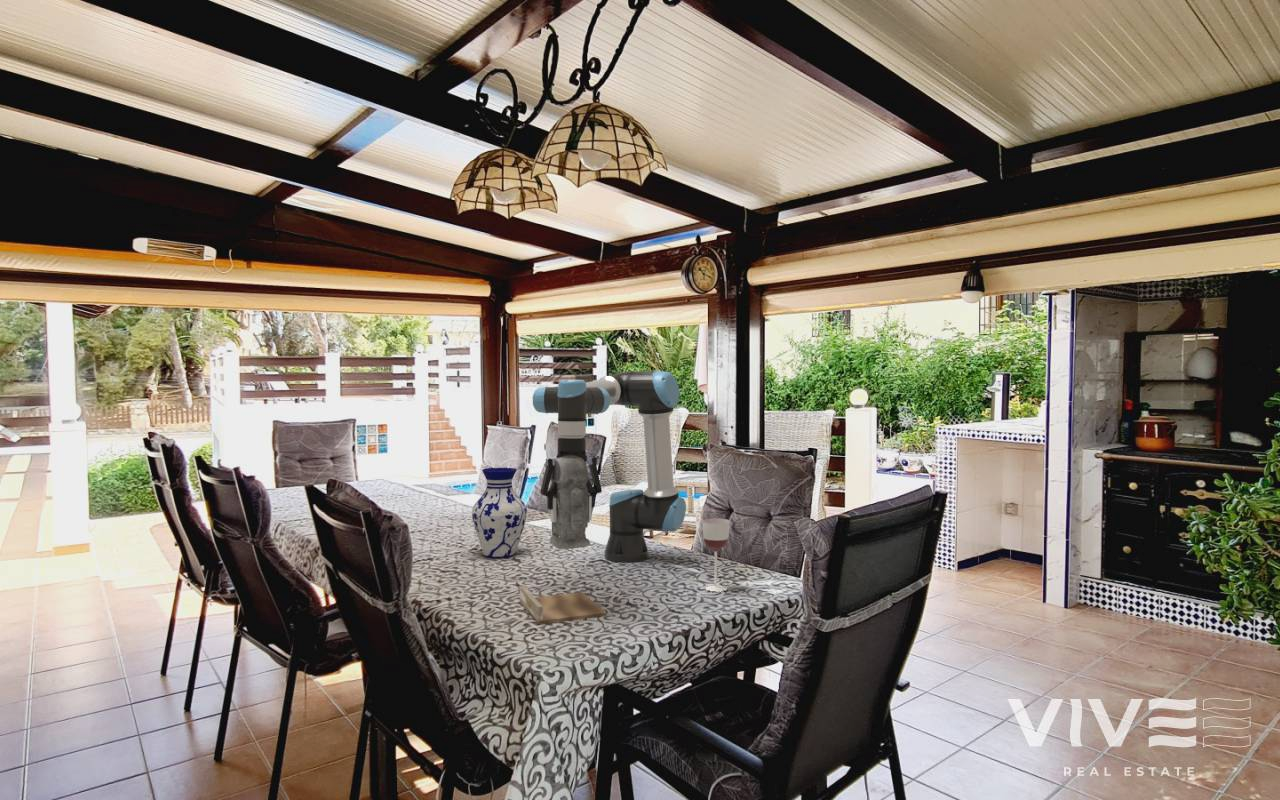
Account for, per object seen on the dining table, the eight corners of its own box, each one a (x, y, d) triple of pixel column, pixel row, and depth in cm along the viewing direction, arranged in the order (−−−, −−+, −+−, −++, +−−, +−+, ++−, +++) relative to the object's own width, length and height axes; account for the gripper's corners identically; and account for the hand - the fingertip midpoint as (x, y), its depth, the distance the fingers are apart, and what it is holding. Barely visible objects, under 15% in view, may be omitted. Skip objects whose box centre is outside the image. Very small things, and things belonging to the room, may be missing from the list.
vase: (480, 563, 240) (479, 474, 240) (465, 552, 257) (465, 468, 257) (534, 557, 249) (534, 471, 249) (517, 546, 266) (517, 465, 265)
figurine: (561, 551, 185) (561, 454, 185) (545, 541, 198) (545, 450, 198) (596, 548, 189) (596, 453, 189) (579, 538, 202) (578, 449, 202)
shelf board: (582, 594, 205) (582, 579, 205) (606, 615, 187) (606, 599, 187) (519, 602, 198) (519, 586, 198) (537, 624, 180) (537, 607, 180)
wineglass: (732, 586, 214) (732, 519, 214) (725, 594, 206) (726, 524, 206) (705, 583, 217) (706, 517, 216) (698, 591, 209) (698, 522, 208)
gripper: (605, 435, 201) (604, 515, 202) (528, 436, 193) (527, 520, 193) (614, 437, 195) (614, 520, 195) (535, 438, 186) (534, 525, 186)
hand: (571, 520), depth 194 cm, fingers closed on figurine, 9 cm apart
